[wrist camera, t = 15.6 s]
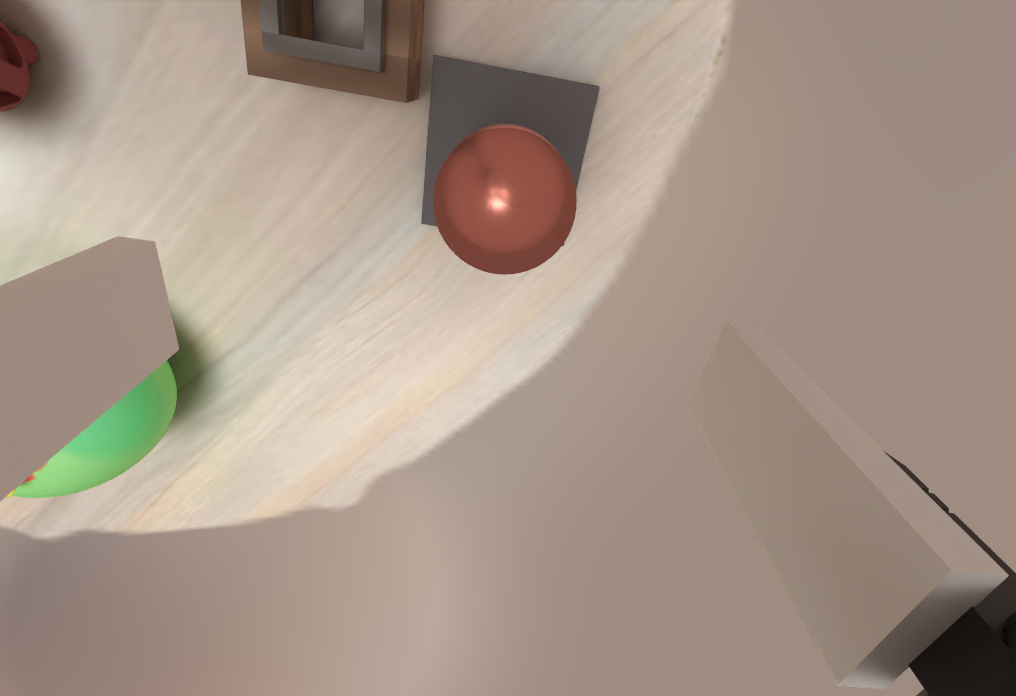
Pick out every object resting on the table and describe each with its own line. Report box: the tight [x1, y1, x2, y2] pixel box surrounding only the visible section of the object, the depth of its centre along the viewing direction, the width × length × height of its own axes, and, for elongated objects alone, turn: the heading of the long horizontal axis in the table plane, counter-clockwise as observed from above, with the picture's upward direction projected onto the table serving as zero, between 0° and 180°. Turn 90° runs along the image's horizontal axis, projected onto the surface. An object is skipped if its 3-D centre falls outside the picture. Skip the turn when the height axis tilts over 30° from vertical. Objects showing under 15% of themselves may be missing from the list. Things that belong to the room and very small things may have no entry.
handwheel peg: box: [433, 124, 576, 274], centre depth 30 cm, size 7×7×16 cm
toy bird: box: [6, 360, 177, 498], centre depth 40 cm, size 18×17×15 cm
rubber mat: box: [422, 55, 599, 246], centre depth 37 cm, size 12×12×1 cm
